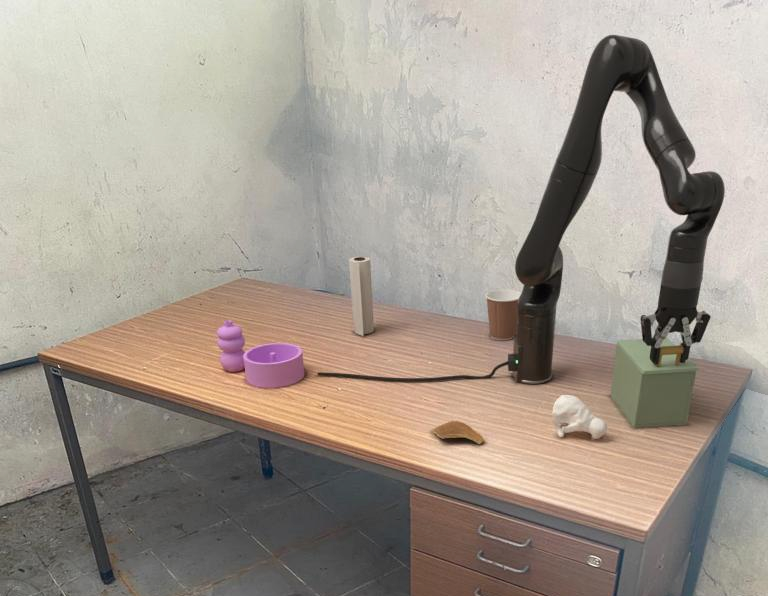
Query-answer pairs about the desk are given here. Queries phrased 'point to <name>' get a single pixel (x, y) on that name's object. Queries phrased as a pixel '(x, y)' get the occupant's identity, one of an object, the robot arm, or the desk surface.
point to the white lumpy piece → (576, 417)
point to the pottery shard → (457, 431)
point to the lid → (667, 359)
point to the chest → (651, 394)
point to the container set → (260, 359)
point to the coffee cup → (502, 313)
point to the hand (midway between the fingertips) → (668, 362)
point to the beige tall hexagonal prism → (361, 295)
